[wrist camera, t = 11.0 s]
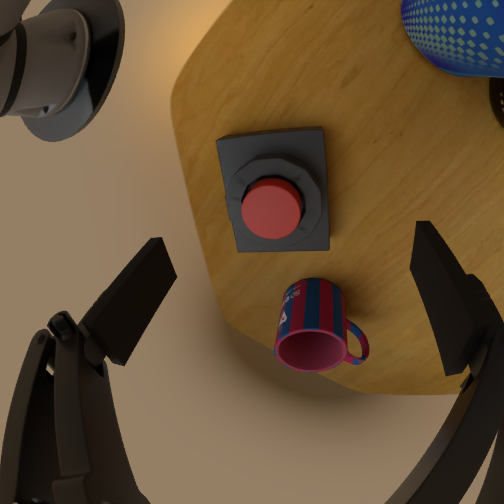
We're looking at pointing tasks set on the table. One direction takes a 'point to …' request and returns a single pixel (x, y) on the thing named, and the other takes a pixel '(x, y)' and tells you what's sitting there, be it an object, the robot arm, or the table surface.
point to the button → (272, 208)
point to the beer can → (458, 34)
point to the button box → (283, 167)
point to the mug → (315, 328)
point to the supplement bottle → (498, 98)
